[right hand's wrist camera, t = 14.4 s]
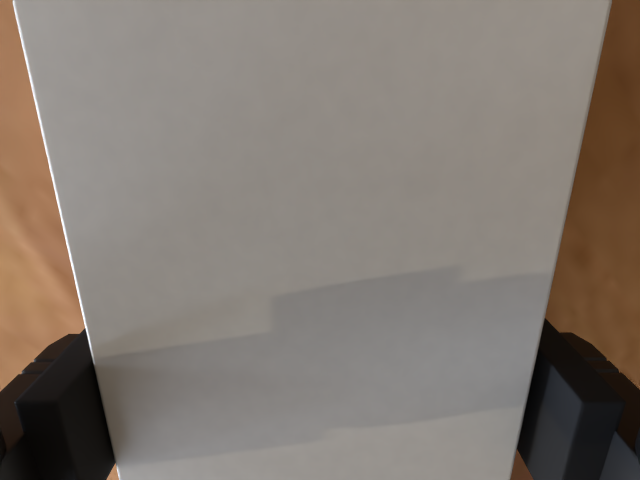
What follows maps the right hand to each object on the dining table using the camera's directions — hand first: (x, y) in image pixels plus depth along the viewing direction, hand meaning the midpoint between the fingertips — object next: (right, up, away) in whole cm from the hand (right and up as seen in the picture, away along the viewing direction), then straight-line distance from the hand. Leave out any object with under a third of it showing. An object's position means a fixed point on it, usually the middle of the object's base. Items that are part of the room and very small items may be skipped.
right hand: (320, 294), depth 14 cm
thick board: (0, -27, +12) cm, 29 cm away
